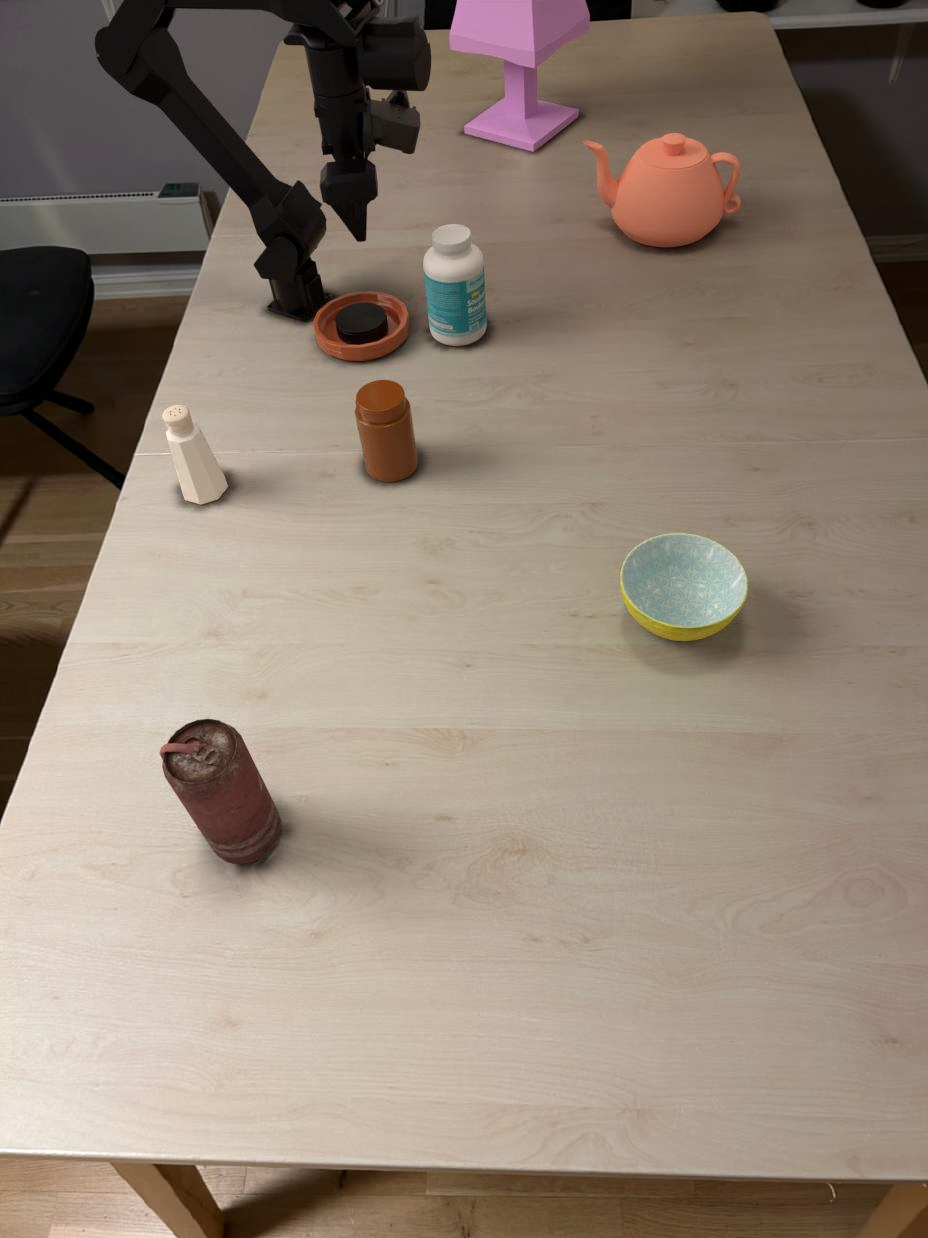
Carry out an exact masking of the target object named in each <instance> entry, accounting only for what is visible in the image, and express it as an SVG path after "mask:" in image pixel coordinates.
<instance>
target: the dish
mask: <svg viewBox="0 0 928 1238" xmlns="http://www.w3.org/2000/svg"><path fill="white" fill-rule="evenodd" d="M361 302H368V303H374V304H377V305H379V306H381V307H382V308H383V309H384V310H385V312H386V315H387V321H388V331H387V333H386V335H385V336H384V337H383V338H382V339H381V340H379V341H376V342H372V343H367V344H362V345H349V344H346V343H344V342H343V341H342V340H341V339H339V336H338V335H337V330H336V321H335V319H336V315H337V314H338V312H339V311H340V310H342V309H343V308H345V307H346V306H349V305H351V304H355V303H361ZM406 306H407V305H406V304H405V303H404V302H403V301H401V300H400V299H399V298H397V297H396V296H394V295H391V294H389V293H385V292H382V291H365V290H364V291H363V290H362V291H355V292H351V293H346V294H343V295H340V296H338V297H336V298H334V299H332V300H328V301H327V302H326V303H325V304H324V305H323V306H321V307H320V308H319V309H318V310H317V311H316V314H315V317H314V319H313V321H312V327H313V331H314V335H315V339H316V343H317V346H318V347H319V348H320V349H321V350H323V351H324V352H325V353H326V354H327V355H329V356H332V357H335V358H337V359H340V360H343V361H350V362H363V361H364V362H365V361H370V360H375V359H379V358H382V357H384V356H386V355H388V354H390V353H392V352H393V351H395V350H396V349H398V348H399V347H400V346H401V345H402V344H403V343H404V342H405V340H407V338H408V335H409V332H410V328H411V322H410V315H409V312H408V309H407V307H406Z"/></svg>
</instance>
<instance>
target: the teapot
mask: <svg viewBox="0 0 928 1238" xmlns="http://www.w3.org/2000/svg"><path fill="white" fill-rule="evenodd" d="M582 143H583V144H584V145H585V146H586V147H587V148H588V149H589V150H590V151H591V152H592V153H593V155H594V157H595V162H596V187H597V192H598V195H599V197H600V199H601V200H602V202H603V203H604V204H605V205H606V206H608V207H609V208H610V213H611V217H612V219H613V221H614V223H615V224H616V226H617V227H618V228H619V229H620V230H621V232H622V233H623V234H624V235H625V236H626V237H628V238H629V239H630V240H631V241H634V242H636V243H639V244H640V245H641V244H642V245H646V246H649V247H655V248H675V247H677V248H678V247H682V246H687V245H690V244H693V243H696V242H698V241H700V240H701V239H703V238H704V237H705V236H706V235H708V234H709V233H710V232H712V231H713V230H714V229H715V228H716V226H717V225H718V224H719V223H720V221H721V220H722V217H723V214H725V215H732V214H735V213H736V212H738V211H739V209H740V208H741V204H742V200H741V197H740V196H739V195H738V194H736V193H735V194H733V192H734V190H735V188H736V186H737V184H738V181H739V179H740V175H741V163H740V160H739V159H738V158H737V156H735V155H734V154H733V153H730V152H727V151H720V152H716V153H713V154H712V155H711V153H710V152H709V150H708V148H707V147H706V146H705V144H703V143H702V142H700V141H698V140H696V139H694V138H691V137H687V136H686V135H685V134H683V133H679V132H670V133H666V134H664V135H663V136H662V137H655V138H654V139H651V140H648V141H646V142H644V143H643V144H642V145H641V146H640V147H639V148H638V149H637V150H636V151H635V152H634V154H633V156H632V157H630V159H629V161H628V163H627V164H626V165H625V166H624V168H623V170H622V171H621V173H620V175H619V177H618V180H617V179H615V178H614V177H613V176H612V175H611V173H610V158H609V154H608V151H607V149H606V148H605V147H604V145H602V144H600V143H598V142H596V141H591V140H583V141H582ZM717 163H727V164H729V165H731V167H732V173H731V177H730V179H729V182H728V184H727V186H726V188H725V190H724V185H723V181H722V177H721V175H720V172H719V169H718V167H717V165H716V164H717ZM731 201H732V202H734V203H733V204H729V202H731Z"/></svg>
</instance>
